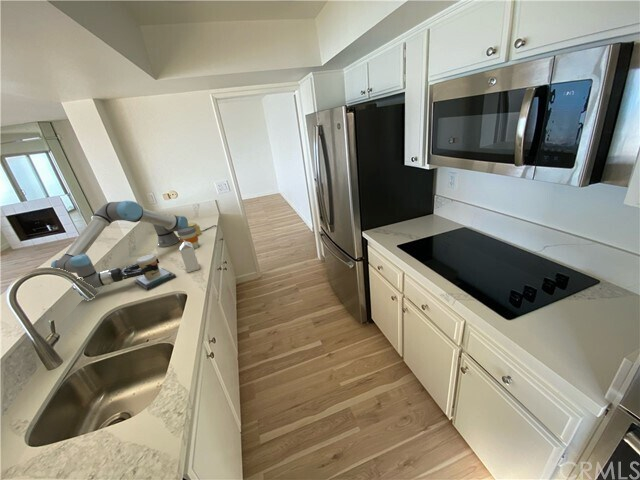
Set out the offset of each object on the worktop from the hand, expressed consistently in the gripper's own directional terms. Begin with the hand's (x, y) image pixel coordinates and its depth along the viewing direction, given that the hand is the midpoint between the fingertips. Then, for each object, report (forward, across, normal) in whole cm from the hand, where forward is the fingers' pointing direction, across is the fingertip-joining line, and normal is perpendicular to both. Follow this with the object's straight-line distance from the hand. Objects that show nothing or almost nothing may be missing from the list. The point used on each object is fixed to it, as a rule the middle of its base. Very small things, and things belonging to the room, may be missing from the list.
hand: (158, 263), depth 156 cm
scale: (-4, +1, -9) cm, 10 cm away
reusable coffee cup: (+19, -38, -9) cm, 43 cm away
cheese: (+21, -66, -9) cm, 70 cm away
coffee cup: (-5, 0, -7) cm, 8 cm away
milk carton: (+17, +1, -9) cm, 19 cm away
